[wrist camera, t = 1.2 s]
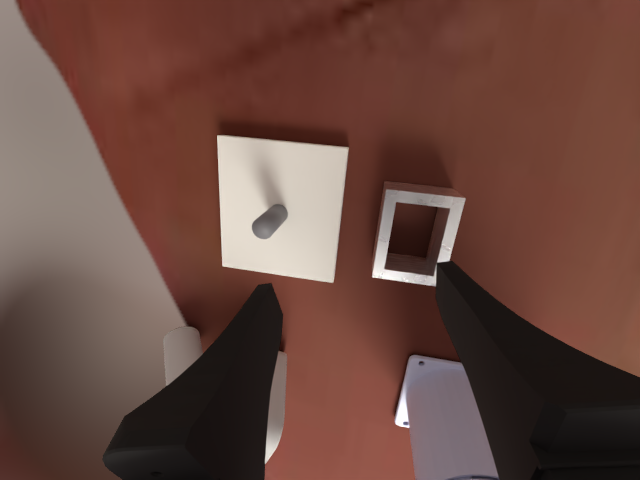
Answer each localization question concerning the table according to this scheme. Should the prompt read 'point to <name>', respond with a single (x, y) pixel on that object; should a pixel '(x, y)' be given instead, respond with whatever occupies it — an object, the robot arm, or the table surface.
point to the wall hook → (187, 348)
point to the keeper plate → (281, 205)
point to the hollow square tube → (441, 238)
